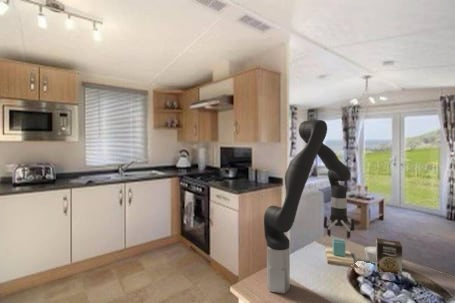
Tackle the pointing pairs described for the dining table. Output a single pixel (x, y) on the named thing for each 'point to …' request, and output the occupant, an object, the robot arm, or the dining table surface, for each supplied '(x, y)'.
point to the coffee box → (388, 256)
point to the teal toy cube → (338, 247)
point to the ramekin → (371, 254)
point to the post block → (339, 257)
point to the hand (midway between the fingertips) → (338, 237)
